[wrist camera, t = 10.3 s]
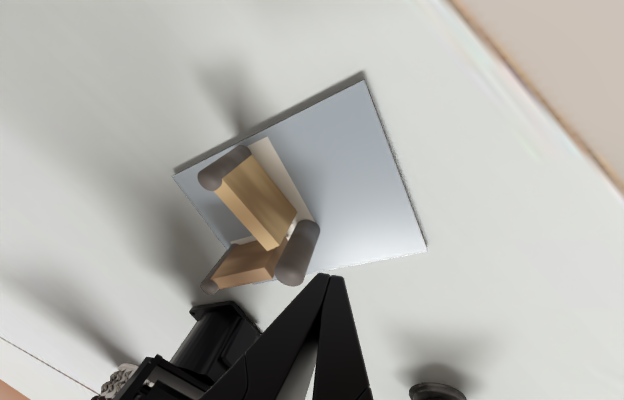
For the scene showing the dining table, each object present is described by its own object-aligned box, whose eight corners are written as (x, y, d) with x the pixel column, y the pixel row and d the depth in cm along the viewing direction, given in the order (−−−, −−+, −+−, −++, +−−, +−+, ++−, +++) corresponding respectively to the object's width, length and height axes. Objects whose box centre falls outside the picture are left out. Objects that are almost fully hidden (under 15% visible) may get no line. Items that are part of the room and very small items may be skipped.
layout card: (254, 281, 23) (252, 284, 23) (175, 174, 19) (171, 176, 19) (427, 247, 17) (428, 251, 17) (364, 79, 13) (363, 80, 13)
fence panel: (298, 211, 17) (279, 248, 14) (285, 218, 18) (263, 255, 15) (243, 141, 16) (206, 165, 12) (230, 151, 16) (193, 176, 13)
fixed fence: (240, 254, 22) (208, 300, 18) (228, 238, 21) (192, 283, 17) (325, 232, 19) (309, 283, 15) (314, 213, 18) (294, 260, 14)
